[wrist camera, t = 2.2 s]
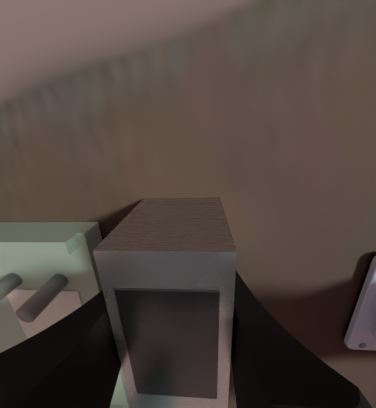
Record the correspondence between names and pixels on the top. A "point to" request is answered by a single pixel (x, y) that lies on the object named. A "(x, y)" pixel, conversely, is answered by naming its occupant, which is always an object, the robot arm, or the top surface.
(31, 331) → the tray
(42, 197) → the top surface
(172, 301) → the block
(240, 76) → the top surface
